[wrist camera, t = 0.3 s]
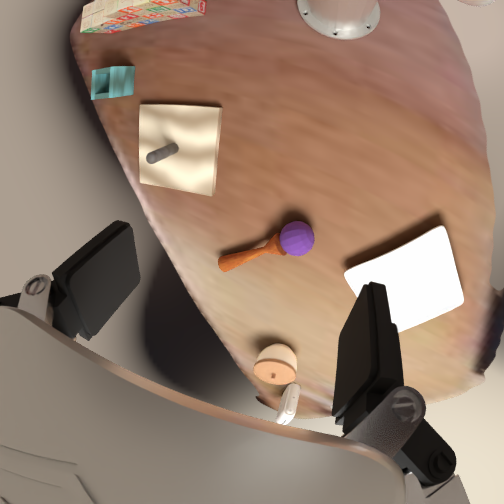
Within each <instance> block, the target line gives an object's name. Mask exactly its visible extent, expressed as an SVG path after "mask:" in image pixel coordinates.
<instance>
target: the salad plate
mask: <svg viewBox="0 0 504 504" xmlns="http://www.w3.org/2000/svg"><path fill="white" fill-rule="evenodd" d="M344 276H345V279H346V280H347V282H348V284H349V285H350V287H351V288H352V290H353V292H354V293H355V295H356V296H357V298H358V295H359V293H360V291H361V289H362V287H363V285H364V284H369V282H370V281H373V282H377V283H381V284H385V286H386V290H387V296H388V301H389V307H390V314H391V320H392V323H395V324H396V325H397V328H398V332H400V331H403V330H406V329H408V328H411V327H413V326H416V325H418V324H420V323H423V322H425V321H427V320H430V319H432V318H434V317H437V316H439V315H441V314H443V313H445V312H448V311H450V310H452V309H454V308H456V307H458V306H460V305H461V304H462V303H463V302H464V297H463V292H462V288H461V284H460V281H459V277H458V273H457V269H456V265H455V261H454V257H453V253H452V249H451V245H450V242H449V238H448V235H447V232H446V229H445V227H444V226H442V225H440V226H437V227H435V228H433V229H431V230H429V231H428V232H426V233H424V234H423V235H421V236H419V237H417V238H415V239H414V240H412V241H410V242H408V243H406V244H404V245H402V246H400V247H398V248H396V249H394V250H392V251H390V252H388V253H385V254H383V255H381V256H379V257H376V258H374V259H371V260H369V261H366V262H364V263H361V264H359V265H356V266H354V267H352V268H350V269H348V270H346V271H345V273H344Z"/></svg>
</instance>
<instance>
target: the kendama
mask: <svg viewBox="0 0 504 504" xmlns="http://www.w3.org/2000/svg"><path fill="white" fill-rule="evenodd" d="M313 244H314V233H313V231H312V229H311V228H310V226H309V225H307V224H305V223H304V222H302V221H294V222H291V223H288V224H286V225H285V227H284V228H283V229H282V231H281V234H280V233H276V234H275V235H274V236H273V237H272V238H271V240H270V241H269V242H268V243H267V244H266V245H265V246H264V247H261V248H257V249H252V250H248V251H243V252H239V253H234V254H230V255H225V256H221V257H220V258H219V259H218V265H219V268H220V269H221V270H222V271H223V272H227V271H229V270H231V269H233V268H235V267H237V266H239V265H241V264H243V263H245V262H247V261H249V260H252V259H254V258H256V257H258V256H260V255H262V254H264V253H271V254H278V255H286V253H288V254H290V255H294V256H301V255H304V254H306V253H307V252H308V251H309V250H310V249H312V246H313Z"/></svg>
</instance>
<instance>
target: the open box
mask: <svg viewBox="0 0 504 504" xmlns="http://www.w3.org/2000/svg"><path fill="white" fill-rule="evenodd" d="M134 74H135V66H113V67H108V68H102V69H97V70H92V87H91V100H93V99H102V98H113V97H120V96H127V95H133V88H134Z"/></svg>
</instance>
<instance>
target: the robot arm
mask: <svg viewBox="0 0 504 504" xmlns="http://www.w3.org/2000/svg"><path fill="white" fill-rule="evenodd" d="M377 1H378V0H297V5H298V9H299V12H300V15H301V16H302V18H303V20H304V21H305V22H306V23H307V24H308V25H309V26H310V27H311V28H312V29H314V30H315V31H317V32H318V33H320V34H322V35H324V36H327V37H330V38H334V39H339V40H353V39H358V38H361V37H364V36H366V35H368V34H369V33H371V32H372V31H373V30H374V28H375V27H376V26H377V24H378V22H379V19H380V7H379V4H378V2H377ZM458 1H460V2H463V3H465V4H468V5H471V6H478V7H480V6H486V5H489V4H491V3H492V2H494V1H495V0H458ZM305 13H307V14H308V15H304V14H305ZM367 27H369V28H370V29H368V28H367ZM334 33H336V34H337V35H336V36H335V35H334ZM52 275H53V277H54V280H53V281H51V279H50V277H49V276H47V275H44V274H40V275H36V276H34V277H32V278H30V279H29V280H28V281H27V282H26V283H25V284H24V287H23V289H22V292H21V293H17V294H13V295H9V296H5V297H1V298H0V504H470V502H469V500H468V497H467V494H466V492H465V489H464V487H463V484H462V482H461V480H460V477H459V475H455V474H454V471H455V467H456V456H455V453H454V451H453V450H452V448H451V447H450V446H449V445H448V444H447V443H446V442H445V441H444V440H443V439H442V437H441V436H440V435H439V434H438V433H437V432H436V431H435V430H434V429H433V428H432V427H431V426H430V425H429V423H428V422H427V421H426V420H425V419H424V416H425V412H426V405H425V401H424V399H423V397H422V395H421V394H420V393H419V392H418V391H417V390H415V389H414V388H412V387H409V386H404V379H403V368H402V358H401V350H400V342H399V335H398V328H397V325H396V324H395V323H392V320H391V314H390V307H389V301H388V296H387V290H386V286H385V284H381V283H377V282H373V281H370V282H369V284H364V285H363V287H362V289H361V291H360V293H359V295H358V298H357V300H356V302H355V304H354V306H353V308H352V310H351V312H350V315H349V317H348V319H347V321H346V323H345V325H344V327H343V329H342V331H341V333H340V336H339V343H338V357H337V370H336V381H335V391H334V400H333V408H332V416H334V417H336V420H335V424H336V425H343V433H344V434H343V435H342V436H341V437H338V436H334V435H329V434H324V433H319V432H315V431H310V430H305V429H300V428H295V427H291V426H286V425H282V424H278V423H274V422H270V421H266V420H262V419H258V418H254V417H251V416H247V415H243V414H240V413H237V412H233V411H230V410H227V409H224V408H220V407H217V406H214V405H211V404H208V403H205V402H203V401H200V400H197V399H194V398H192V397H189V396H186V395H184V394H181V393H179V392H176V391H174V390H171V389H169V388H166V387H164V386H161V385H159V384H157V383H155V382H152V381H150V380H148V379H146V378H143V377H141V376H139V375H137V374H135V373H133V372H131V371H129V370H127V369H125V368H122V367H121V366H119V365H117V364H115V363H113V362H111V361H109V360H107V359H105V358H104V357H102V356H100V355H98V354H96V353H94V352H93V351H91V350H89V349H87V348H86V347H84V346H82V345H81V344H79V343H77V342H76V335H77V333H79V335H80V336H82V337H83V338H85V339H86V340H88V341H89V340H90V339H91V338H92V336H94V335H96V334H97V333H98V332H99V330H100V329H101V328H102V327H103V326H104V324H105V323H106V322H107V321H108V320H109V318H110V317H111V316H112V315H113V314H114V312H115V311H116V310H117V309H118V307H119V306H120V305H121V304H122V303H123V302H124V300H125V299H126V298H127V297H128V296H129V294H130V293H131V292H132V291H133V290H134V289H135V288H136V286H137V285H138V284H139V282H140V272H139V267H138V261H137V255H136V249H135V242H134V235H133V229H132V227H131V226H130V224H129V223H127V222H123V221H119V220H117V221H114V222H113V223H112V224H110V225H109V226H108V227H106V228H105V229H104V230H103V231H101V232H100V233H99V234H97V235H96V236H95V237H94V238H92V239H91V240H90V241H89V242H88V243H86V244H85V245H84V246H83V247H81V248H80V249H79V250H78V251H76V252H75V253H74V254H73V255H72V256H70V257H69V258H68V259H67V260H66V261H65V262H63V263H62V264H61V265H60V266H59V267H58V268H57V269H55V271H53V272H52Z"/></svg>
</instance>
